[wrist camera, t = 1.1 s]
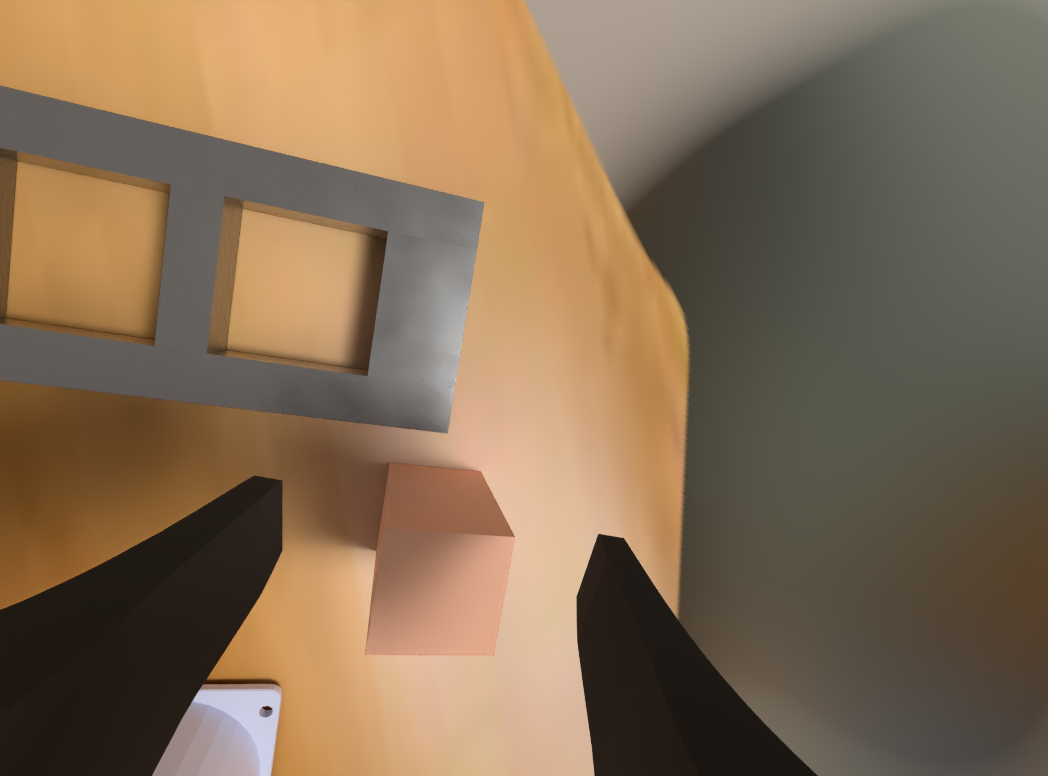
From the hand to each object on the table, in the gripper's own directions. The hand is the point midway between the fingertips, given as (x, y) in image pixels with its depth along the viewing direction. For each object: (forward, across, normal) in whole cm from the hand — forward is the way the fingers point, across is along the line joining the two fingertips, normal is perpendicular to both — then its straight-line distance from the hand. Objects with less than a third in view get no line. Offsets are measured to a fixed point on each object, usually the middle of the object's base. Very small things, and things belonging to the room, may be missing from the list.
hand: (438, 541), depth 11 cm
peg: (+9, +1, +7) cm, 11 cm away
